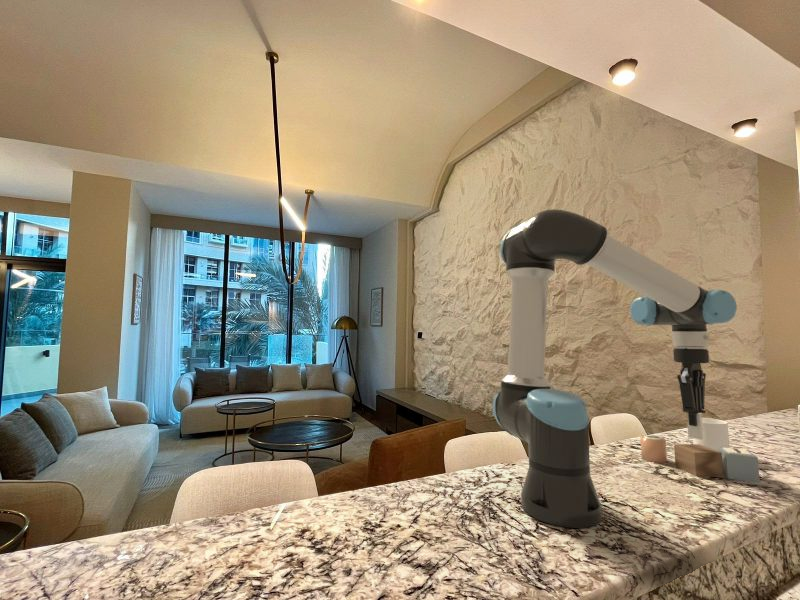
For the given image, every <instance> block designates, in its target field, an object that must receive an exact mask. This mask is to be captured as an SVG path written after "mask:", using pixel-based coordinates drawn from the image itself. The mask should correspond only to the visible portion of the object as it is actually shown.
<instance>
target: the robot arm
mask: <svg viewBox="0 0 800 600" xmlns="http://www.w3.org/2000/svg"><path fill="white" fill-rule="evenodd" d="M608 230H609V229H607V228H606V227H605V226H603V225H601V224H600V223H598V222H597V221H594V220H593V219H590V218H588V217H586V216H583V215H580V214H577V213H575V212H572V211H568V210H564V209H555V208H554V209H552V208H551V209H545V210H542V211H540V212H538V213H535V214H534V215H533V216H531V217H530V218H528V219H527V220H525V221H523V222H520V223H518V224H516V225H515V226H513V227H511V229H510V230H508V232H506V233H505V235H504V236H503V238H502V240H501V242H500V243H501V244H500V249H499V250H500V256H501V259H502V261H504V264H505V267H506V271H505V273H506V275H508V277H509V278H511V291H510V292H511V293H510V294H511V296H510V297H511V298H510V317H509V318H510V319H509V336H508V337H509V342H508V359H507V360H508V364H507V373H506V375H505V376H503V377H502V378H501V380H500V390H499V391H498V393H496V395H495V396H494V399H493V403H492V413H493V417H494V419H495V420H496V423H497V424H498V425H499V426H500V428H502V429H503V430H505V433H507V434H509V435H511V436H514V437H515V438H517V439H520V440H521V441H523V442H525V443H527V444H528V446H527V448H528V470H527V472H526V475H525V478H524V479H525V480H524V483H523V486H522V489H521V494H520V496H521V497H520V498H521V499H520V503H521V504H520V505H521V508H522V509H523V511H524V512H525V513H526V514H528V515H529V516H531V517H532V518H534V519H536V520H538V521H540V522H543V523H547V524H549V525H554V526H557V527H561V528H562V527H563V528H569V529H570V528H571V529H583V528H590V527H593V526H596V525H598V524H599V523H600V522H601V521H602V519H603V513H602V512H603V510H602V503H601V501H600V498H599V495H598V492H597V489H596V487H595V485H594V481H593V479H592V476H591V468H590V467H591V465H590V463H591V462H590V438H589V437H590V435H589V422H590V418H589V415H588V413H589V412H588V406H587V404H586V401H585V400H584V399H583V398H582V397H580V396H579V395H577V394H575V393H573V392H568V391H564V390H563V391H562V390H559V389H554V388H552V385H551V383H550V382H549V381H548V380H547V379H546V377H545V369H546V368H545V367H546V366H545V365H546V363H545V362H546V340H547V339H546V338H547V337H546V334H547V308H548V306H547V305H548V281H549V279H551V277H552V276H554V275H555V271H556V270H555V267H556V263H555V262H556V260H567V261H570V262H573V263H575V264H576V265H578V266H585V265H588V266H589V267H591V268H593V269H595V270H597V271H599V272H601V273H602V274H604V275H607V276H608V277H610V278H612V279H613V280H615V281H617V282H619V283H621V284H623V285H624V286H627V287H629V288H630V289H632V290H633V291H636V293H639V294H641V295H643V296H640V297H636V298H635V299H634V300H633V301H632V303H631V304H630V306H629V307H630V308H629V310H630V313H629V314H630V317H631V319H632V321H633V322H634V323H636V324H637V325H643V326H644V325H645V326H671V331H672V332H671V335H672V336H671V337H672V346H673V347H675V348H674V349H673V350H672V351H673V361H674V362H675V363H681V368H680V371H679V372H680V374H678V375H677V381H678V384H679V390H680V396H681V404H682V412H683V413H686V418H687V433H688V434H687V435H688V438H691V439H693V438H695V439H700V440H701V439H703V431H702V418H703V415H702V414H706V411H707V410H705V391H706V390H705V387H706V386H705V385H706V377H707V373H705V372H704V370H703V369H702V366H701V365H702V364H708V363H709V362H710V352H709V350H708V349H706V348H707V347H708V346H709V345H708V344H709V342H708V340H710V339H711V336H710V335H708V328H707V325H709V326H710V325H714V324H725V323H728V322H730V321H732V320H733V318H734V317H735V316H736V312H737V310H738V307H737V301H736V298H735V297H734V296H733V294H731V293H730V292H728V291H726V290H722V289H711V290H707V289H704V288H703V287H701V286H700V285H699V286H698V285H697V284H695V283H693V282H692V281H690V280H689V279H686V278H684V277H683V276H681V275H679V274H678V273H676V272H674V271H672V270H671V269H669V268H667V267H666V266H664V265H662V264H660V263H658V262H656V261H654V260H653V259H651V258H650V257H648V256H646V255H644V254H643V253H641V252H639V251H637V250H635V249H634V248H632V247H630V246H629V245H627V244H625V243H623V242H621V241H620V240H618V239H616V238H614V237H612V236H611V235H609V231H608Z"/></svg>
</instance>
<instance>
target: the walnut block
mask: <svg viewBox="0 0 800 600" xmlns="http://www.w3.org/2000/svg"><path fill="white" fill-rule="evenodd" d="M673 448H674V450H673V451H674V463H675V465H674V466H676V467H675V468H677V467H678V468H677V469H679V468H680V469H679V470H681V469H682V470H681V471H683V470H684V471H683V472H685V471H686V472H685V473H687V472H688V474H689V473H690V474H689V475H692V476H693V477H696V476H697V477H696V478H699V477H703V478H705V477H707V478H709V477H710V478H712V477H714V478H716V477H717V476H718V477H720V476H721V477H722V476H724V474H723V463H722V452H719V451H716V450H714V449H711V448H708V447H705V446H703V445H700V444H692V443H691V444H690V443H689V444H684V443H683V444H682V443H681V444H676V443H675V444H673ZM715 476H716V477H715Z"/></svg>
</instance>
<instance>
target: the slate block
mask: <svg viewBox="0 0 800 600" xmlns="http://www.w3.org/2000/svg"><path fill="white" fill-rule="evenodd" d="M718 451H719V452H722V463H723V476H725V477H726V478H727V479H728V480H729V479H730V480H735V479H737V481H745V482H750V483H751V482H753V483H760V482H761V480H760V467H759V457H758V456H757V455H756V454H754V453H752V452H751V451H750V450H747V449H741V448H732V447H730V448H719V447H718Z"/></svg>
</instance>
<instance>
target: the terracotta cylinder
mask: <svg viewBox="0 0 800 600" xmlns="http://www.w3.org/2000/svg"><path fill="white" fill-rule="evenodd" d="M640 450H641V451H640V453H641V459H642V460H643V461H645V462H648V463H652V462H654V464H667V463H668V458H667V456H668V453H667V439H665V438H664V437H661V436H658V435H649V434H647V435H641V436H640ZM666 462H667V463H666Z"/></svg>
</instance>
